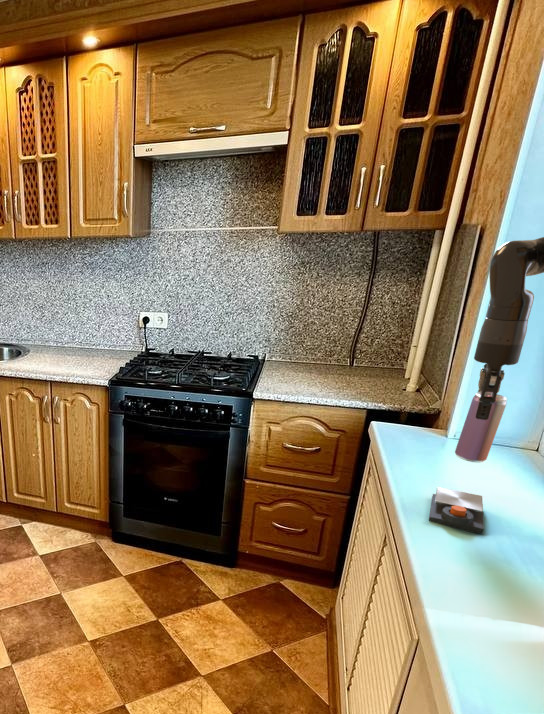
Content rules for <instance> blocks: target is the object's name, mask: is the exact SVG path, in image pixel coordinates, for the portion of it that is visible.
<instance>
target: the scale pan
mask: <svg viewBox="0 0 544 714" xmlns="http://www.w3.org/2000/svg"><path fill="white" fill-rule="evenodd" d="M435 494H436V498H435V503H440V504H445V505H449V506H454V505H457V506H461V507H464V508H466V509H468V510H473V511H477V512H483V513H484V503H483V502H484V501H483V495H480V494H475V493H471V492H470V493H469V492H466V491H465V492H464V491H459V490H454V489H451V488H445V487H439V486H437V487H436V491H435Z"/></svg>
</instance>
